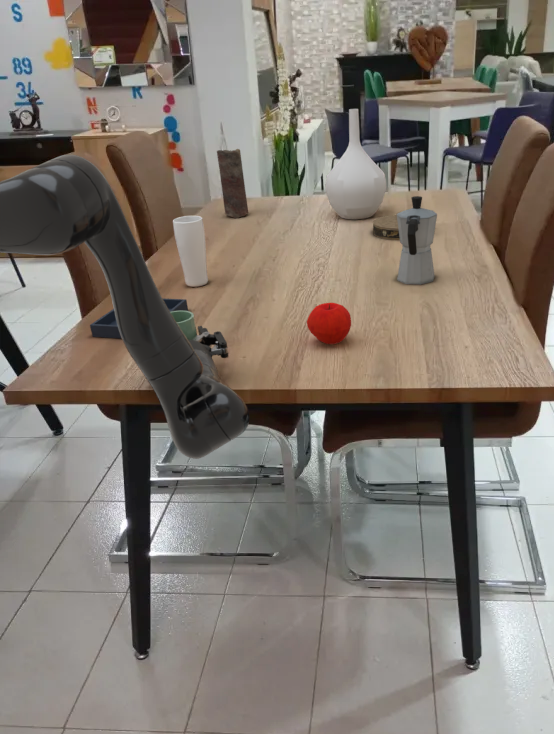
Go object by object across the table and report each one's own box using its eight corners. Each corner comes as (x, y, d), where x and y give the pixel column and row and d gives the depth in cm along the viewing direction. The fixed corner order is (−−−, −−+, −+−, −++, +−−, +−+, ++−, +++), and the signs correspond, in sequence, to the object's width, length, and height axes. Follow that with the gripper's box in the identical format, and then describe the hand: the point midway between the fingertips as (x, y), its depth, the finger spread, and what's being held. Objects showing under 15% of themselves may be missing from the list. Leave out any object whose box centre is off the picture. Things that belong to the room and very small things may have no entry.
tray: (152, 340, 133) (150, 328, 132) (92, 336, 136) (89, 324, 135) (188, 310, 146) (186, 299, 145) (132, 307, 150) (130, 296, 148)
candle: (220, 216, 220) (211, 150, 210) (236, 211, 225) (229, 146, 215) (236, 219, 216) (229, 151, 206) (253, 214, 221) (246, 147, 211)
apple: (302, 348, 125) (299, 310, 122) (317, 332, 132) (315, 295, 128) (344, 352, 123) (342, 313, 119) (357, 335, 129) (356, 297, 126)
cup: (193, 380, 116) (184, 324, 111) (161, 377, 118) (150, 322, 113) (207, 365, 121) (199, 311, 116) (176, 362, 123) (167, 309, 118)
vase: (381, 207, 219) (380, 104, 205) (391, 220, 204) (390, 110, 189) (324, 211, 219) (319, 108, 204) (329, 225, 203) (324, 114, 188)
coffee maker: (400, 269, 163) (401, 190, 154) (438, 270, 160) (440, 190, 152) (390, 290, 150) (389, 205, 141) (430, 291, 148) (432, 205, 139)
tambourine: (441, 234, 188) (441, 223, 186) (388, 242, 183) (388, 231, 182) (413, 222, 201) (413, 211, 199) (363, 230, 196) (363, 219, 195)
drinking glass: (180, 289, 159) (170, 223, 151) (184, 280, 165) (174, 216, 157) (210, 287, 159) (200, 221, 151) (212, 278, 165) (204, 214, 157)
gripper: (234, 342, 105) (216, 307, 118) (139, 358, 101) (131, 320, 115) (240, 386, 108) (221, 347, 122) (148, 403, 105) (139, 361, 119)
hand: (177, 334), depth 118 cm, fingers open, 7 cm apart
